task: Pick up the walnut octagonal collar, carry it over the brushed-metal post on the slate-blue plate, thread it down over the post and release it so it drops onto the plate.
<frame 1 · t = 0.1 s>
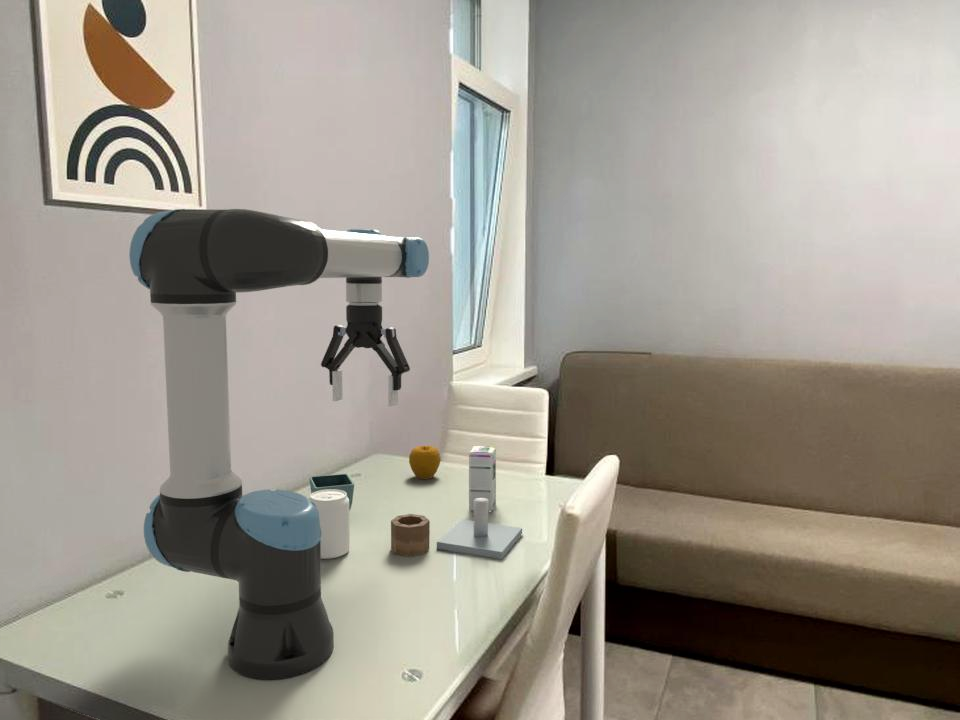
hand: (364, 402, 152), 28 cm above the table, fingers open, 13 cm apart
post block: (480, 541, 149), on the table
apple: (424, 477, 193), on the table
syrup box: (482, 508, 169), on the table
flower pot: (332, 519, 161), on the table
beverage can: (329, 553, 142), on the table
collar: (410, 548, 144), on the table
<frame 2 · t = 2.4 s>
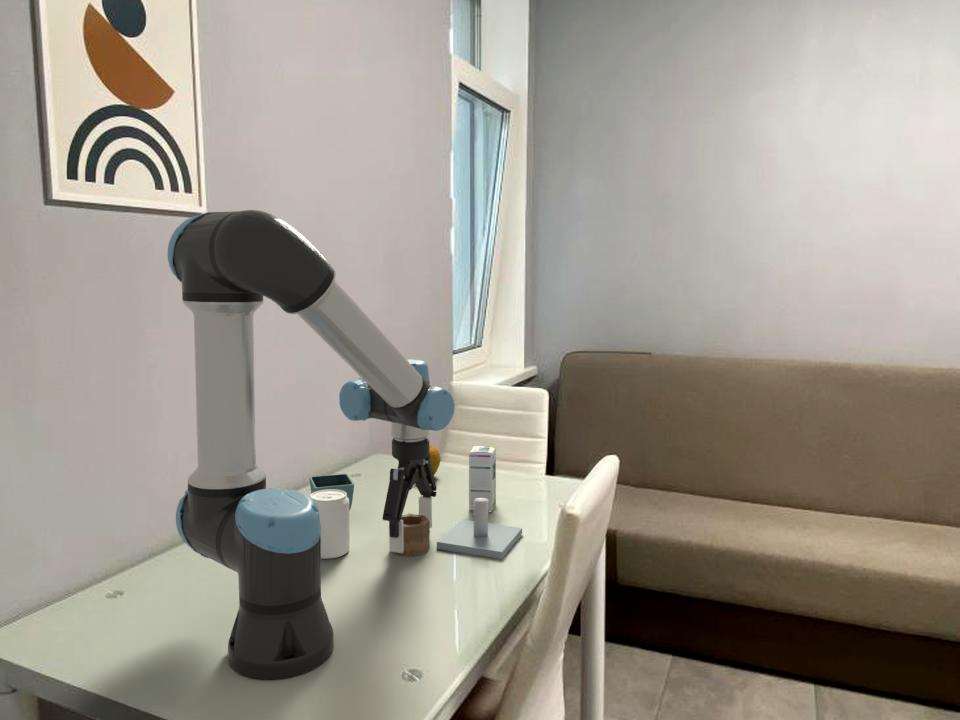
hand: (411, 538, 144), 2 cm above the table, fingers open, 13 cm apart
nothing on the table moved.
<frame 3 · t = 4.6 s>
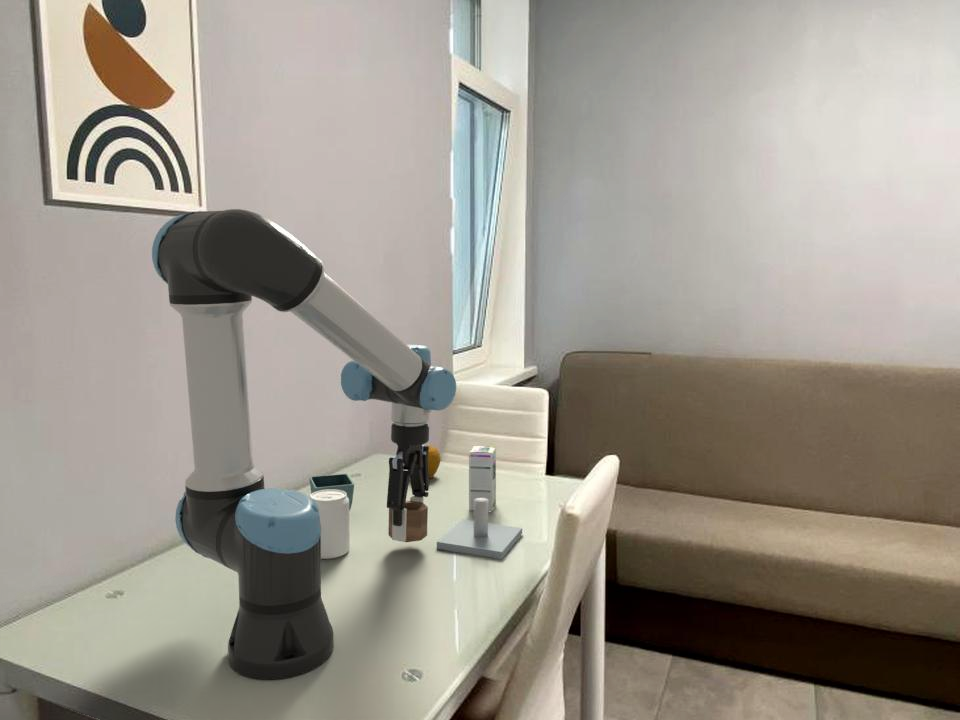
hand: (407, 533, 143), 3 cm above the table, fingers closed on collar, 7 cm apart
collar: (407, 535, 143), point 3 cm above the table, touching gripper
everything else where it was.
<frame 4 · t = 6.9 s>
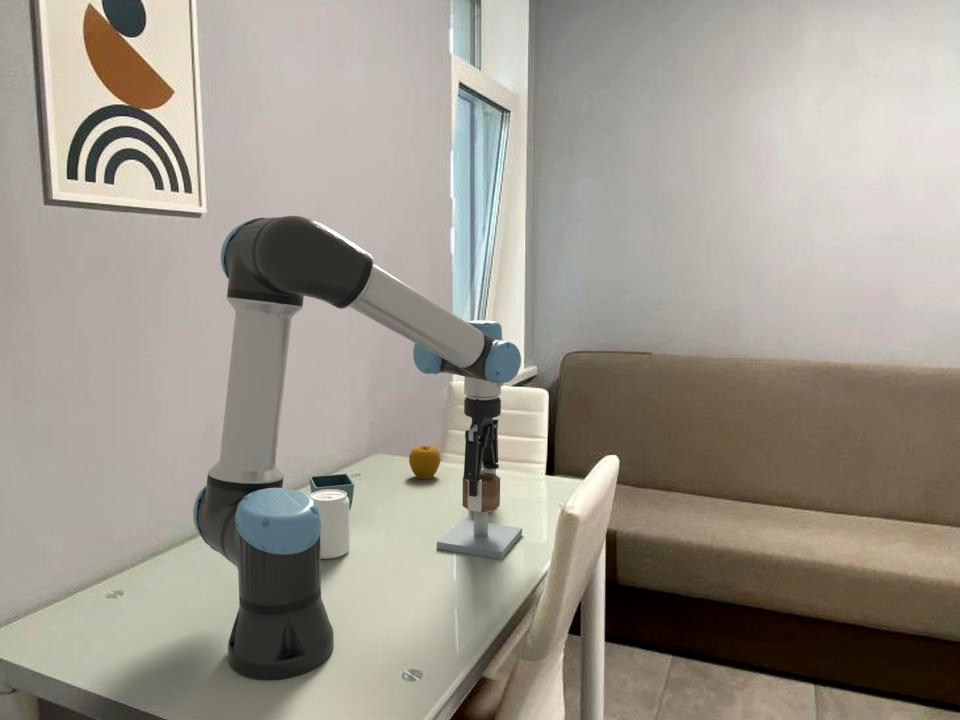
hand: (481, 504, 147), 8 cm above the table, fingers closed on collar, 7 cm apart
collar: (481, 505, 148), point 8 cm above the table, touching gripper
everything else where it was.
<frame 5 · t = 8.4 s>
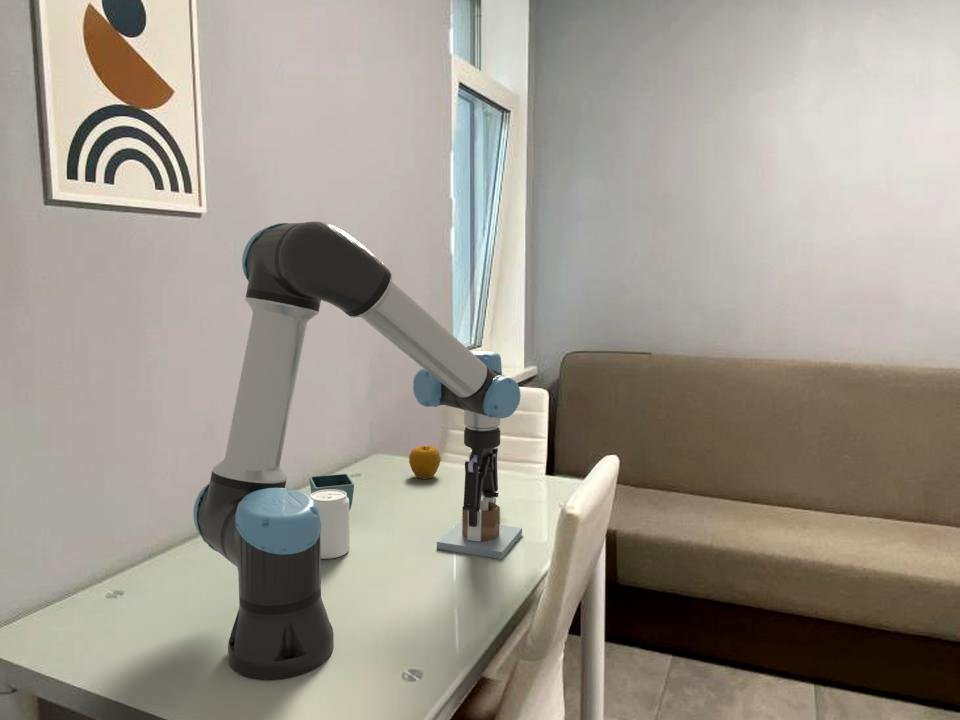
hand: (480, 533, 148), 2 cm above the table, fingers closed on collar, 7 cm apart
collar: (480, 534, 148), point 2 cm above the table, touching gripper, post block
everything else where it was.
when the fingers open (2 cm above the table, at t = 9.1 s): collar stays where it is, resting on post block.
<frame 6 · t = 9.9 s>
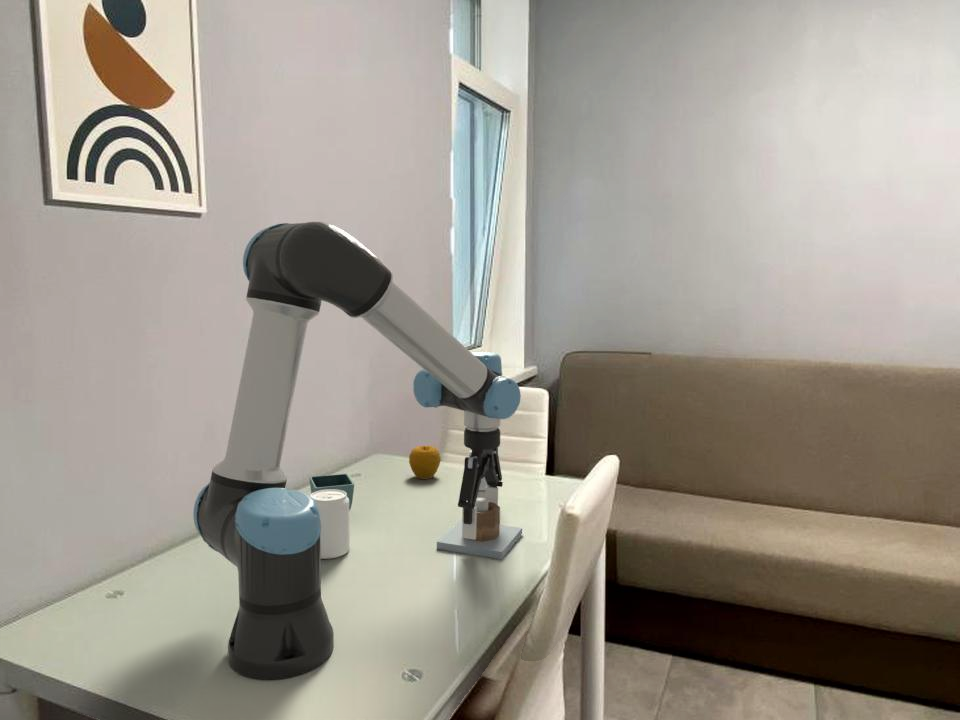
hand: (480, 526, 148), 3 cm above the table, fingers open, 13 cm apart
collar: (480, 534, 148), point 1 cm above the table, touching post block
everything else where it was.
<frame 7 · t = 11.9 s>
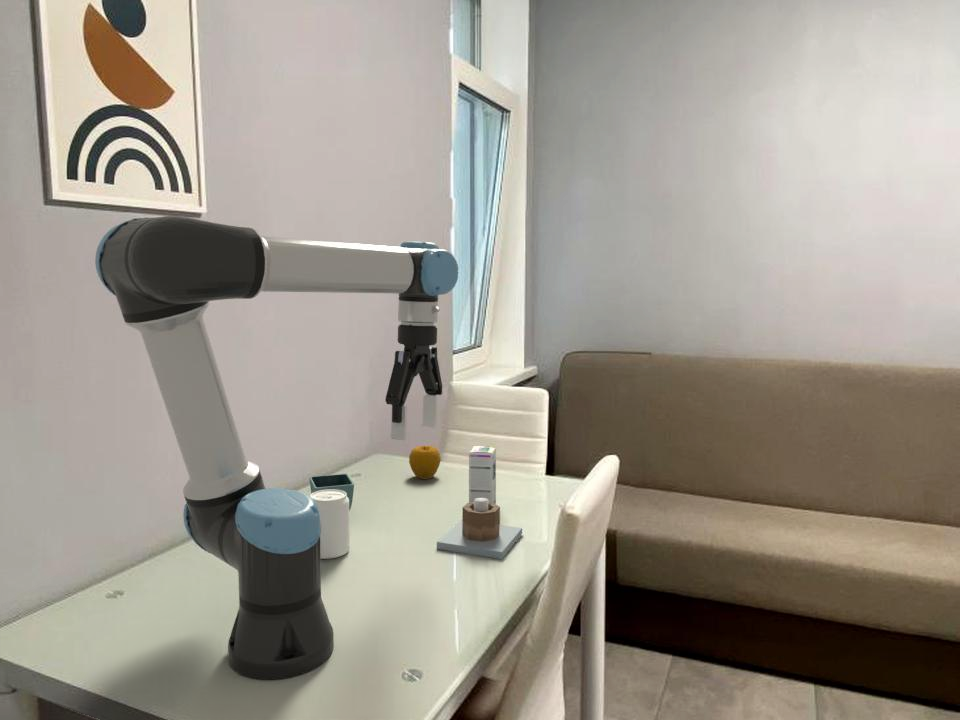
hand: (414, 433, 138), 25 cm above the table, fingers open, 13 cm apart
nothing on the table moved.
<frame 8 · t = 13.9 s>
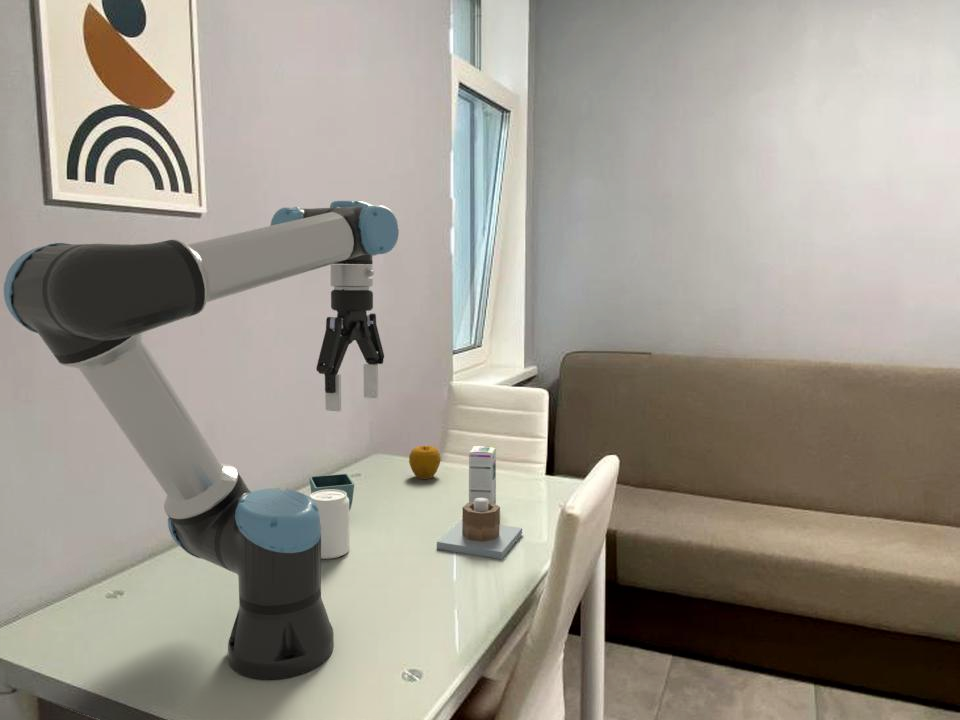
hand: (353, 404, 131), 32 cm above the table, fingers open, 13 cm apart
nothing on the table moved.
at the end: collar 0.1 cm from the post block (horizontally); collar point 1.5 cm above the table; the gripper is holding nothing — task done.
